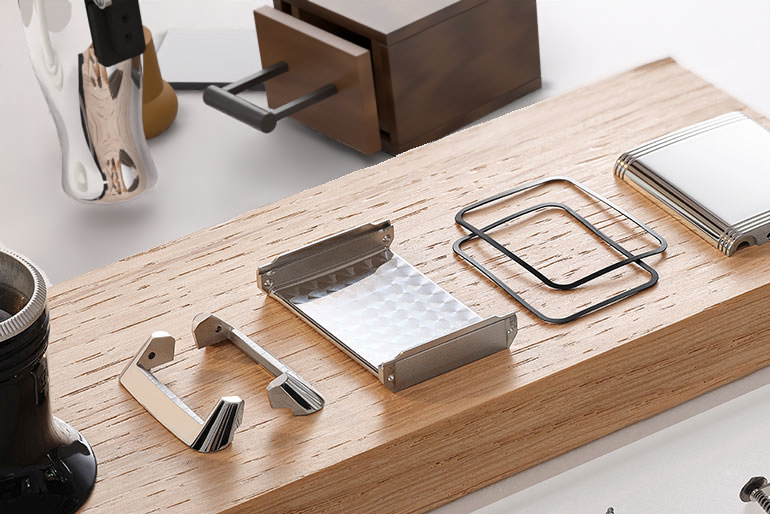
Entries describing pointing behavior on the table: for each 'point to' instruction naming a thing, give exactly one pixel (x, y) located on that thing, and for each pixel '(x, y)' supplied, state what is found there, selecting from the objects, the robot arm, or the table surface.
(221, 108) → the drawer
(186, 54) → the coaster
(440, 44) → the cabinet
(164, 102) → the ornamental finial
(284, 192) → the table surface
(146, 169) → the beer glass
